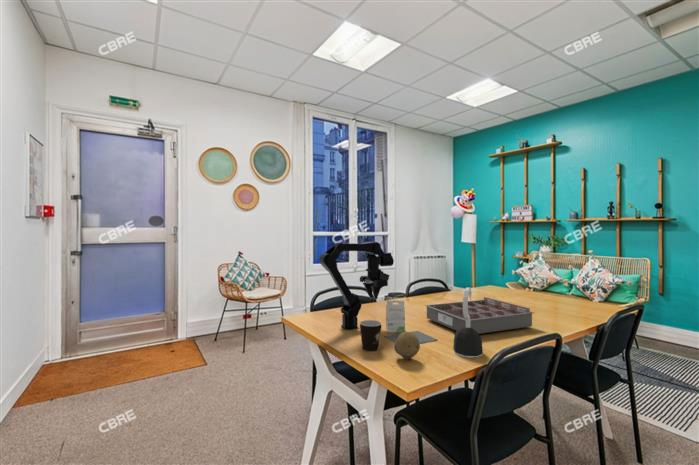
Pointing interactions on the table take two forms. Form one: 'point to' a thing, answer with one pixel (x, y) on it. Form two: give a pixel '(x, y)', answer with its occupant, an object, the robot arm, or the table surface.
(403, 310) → the ink box
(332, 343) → the table surface
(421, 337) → the mat
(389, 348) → the table surface
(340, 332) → the table surface
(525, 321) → the organizer tray
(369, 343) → the coffee mug
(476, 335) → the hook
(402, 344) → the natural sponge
